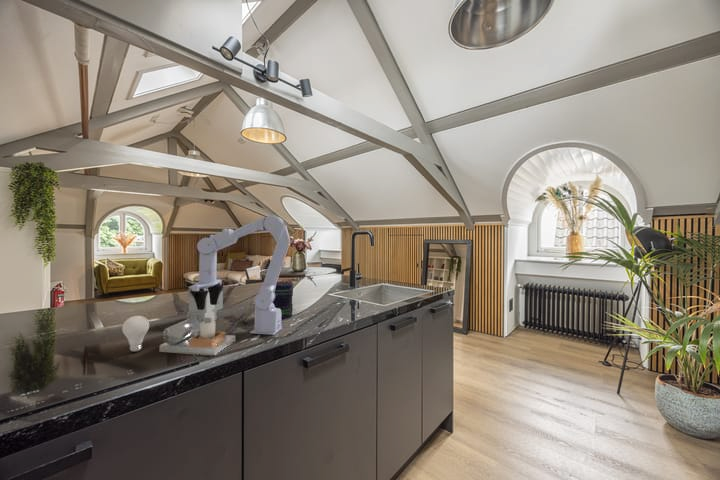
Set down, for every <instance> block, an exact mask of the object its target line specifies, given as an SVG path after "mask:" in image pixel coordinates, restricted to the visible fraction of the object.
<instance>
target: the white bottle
mask: <svg viewBox="0 0 720 480" xmlns="http://www.w3.org/2000/svg"><path fill="white" fill-rule="evenodd" d="M215 331H216V320H212V318H205V321H202V322H200V330H199V333H200V338H203V339H212V338H214V337H215Z"/></svg>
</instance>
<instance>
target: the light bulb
mask: <svg viewBox="0 0 720 480" xmlns="http://www.w3.org/2000/svg"><path fill="white" fill-rule="evenodd" d="M149 328H150V322H149V319H148V318H146V317H145V316H143V315H134V316H130V317H129V318H127V319H126V320H125V321H124V323H123V324H122V328H121V331H122V333H123V335H124V336H125V338H127V340H128V345H129V351H130V352H133V353H134V352H135V353H136V352H139V351H140V350H141V349H142V348H143V344H142V343H143V341H144V338H145V336H146V334H147V332H148V331H149Z"/></svg>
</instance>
